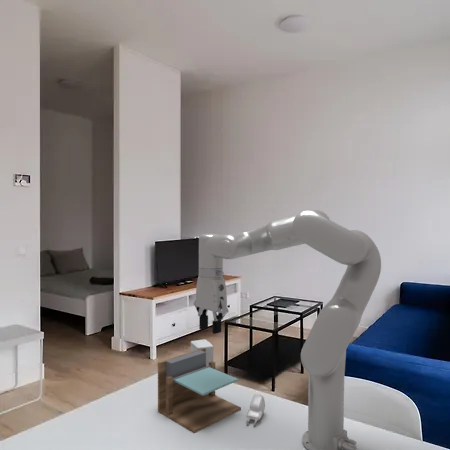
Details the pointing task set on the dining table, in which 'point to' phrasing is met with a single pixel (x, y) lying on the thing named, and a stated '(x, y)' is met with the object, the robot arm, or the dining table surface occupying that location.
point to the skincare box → (200, 345)
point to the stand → (190, 402)
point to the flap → (197, 373)
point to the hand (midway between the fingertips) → (210, 330)
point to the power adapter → (256, 408)
